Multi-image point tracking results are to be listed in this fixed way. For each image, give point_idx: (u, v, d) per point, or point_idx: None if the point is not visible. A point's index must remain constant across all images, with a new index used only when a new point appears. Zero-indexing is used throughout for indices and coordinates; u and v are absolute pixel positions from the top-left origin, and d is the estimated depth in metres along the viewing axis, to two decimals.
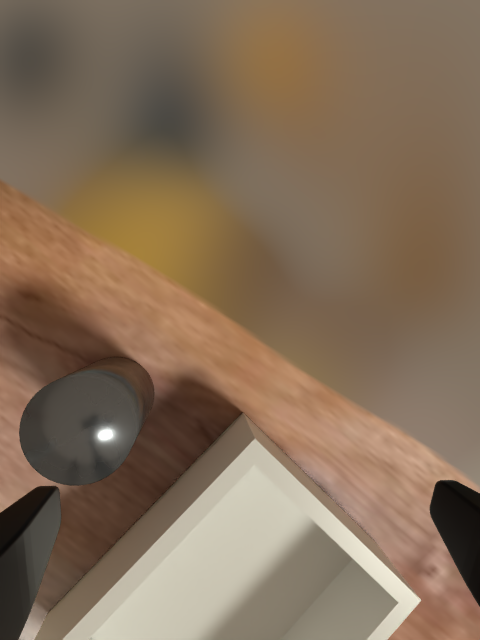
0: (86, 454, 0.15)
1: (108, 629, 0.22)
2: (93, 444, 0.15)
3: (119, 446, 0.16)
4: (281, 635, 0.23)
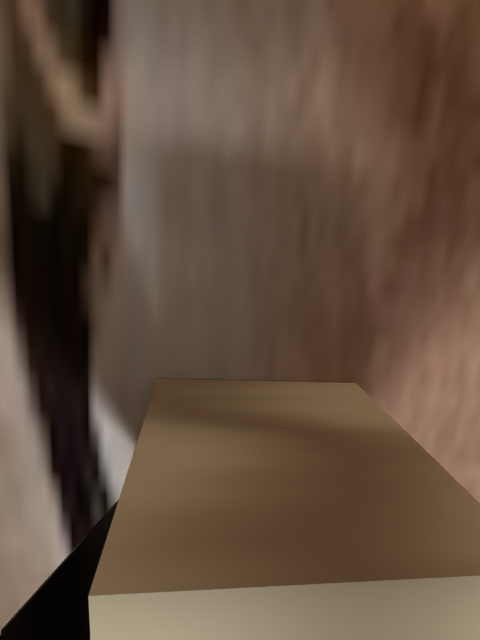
0: None
1: None
2: None
3: None
4: None
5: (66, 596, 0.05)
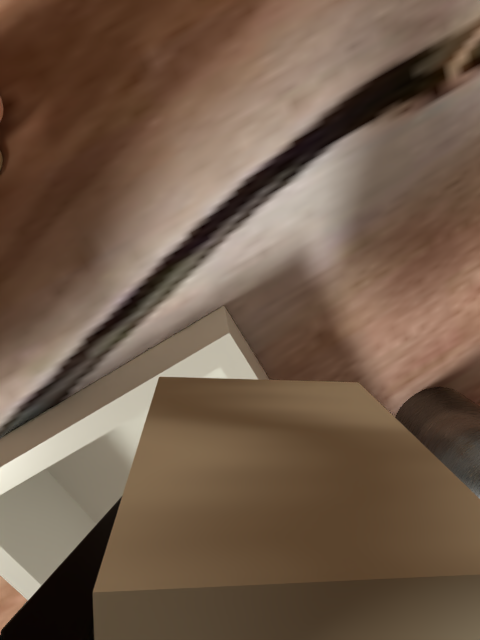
0: None
1: None
2: None
3: None
4: None
5: (66, 596, 0.05)
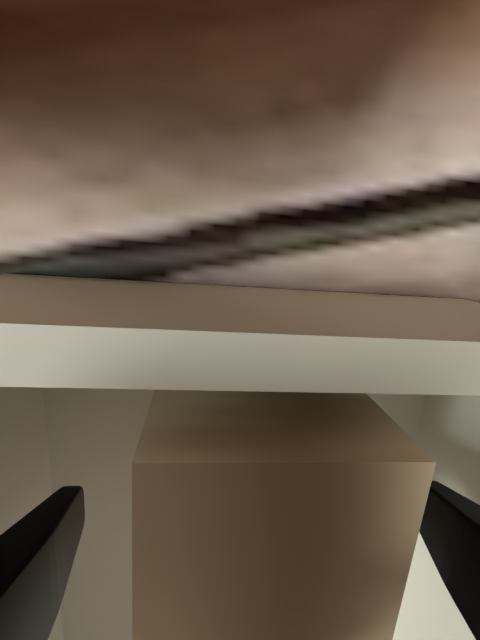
0: None
1: None
2: None
3: None
4: None
5: None
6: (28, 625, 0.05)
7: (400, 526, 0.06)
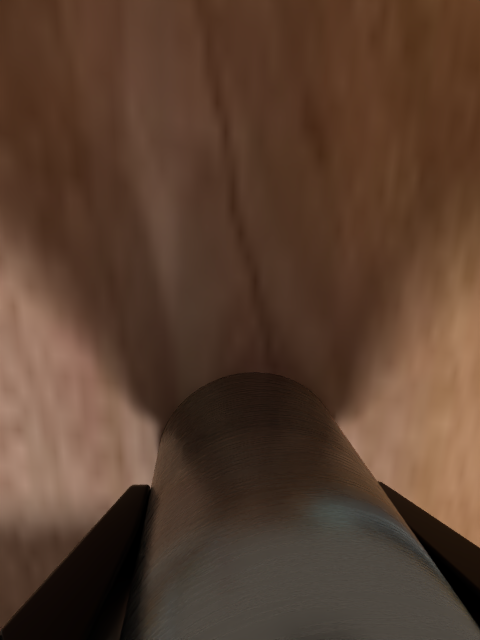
0: None
1: None
2: None
3: None
4: None
5: (65, 596, 0.05)
6: (122, 619, 0.05)
7: None
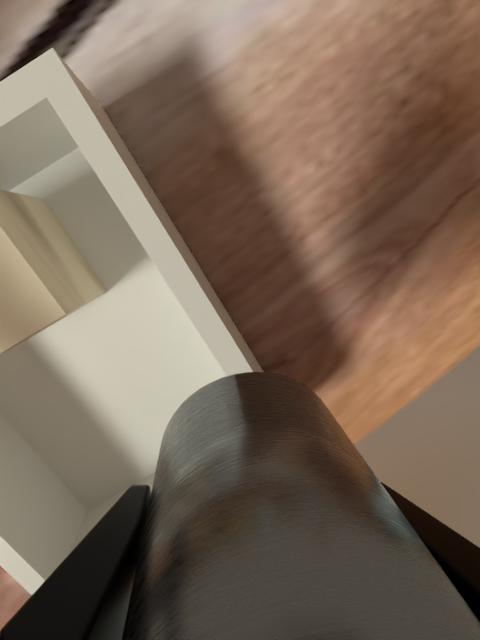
0: None
1: (61, 188, 0.15)
2: None
3: None
4: None
5: (65, 596, 0.05)
6: (122, 619, 0.05)
7: None
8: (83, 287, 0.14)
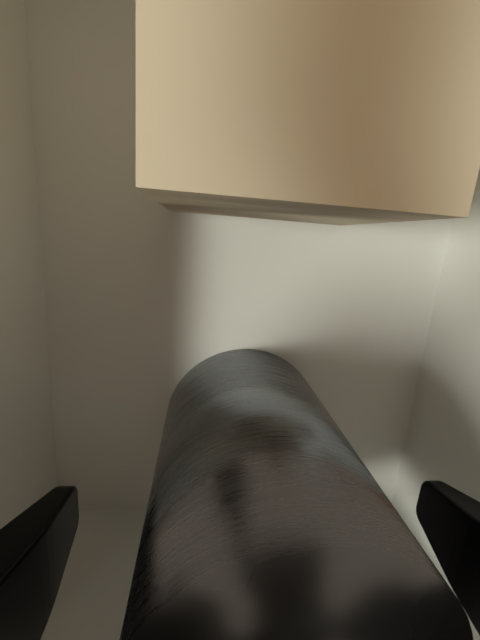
0: None
1: None
2: None
3: None
4: (49, 275, 0.10)
5: None
6: (19, 625, 0.05)
7: None
8: None
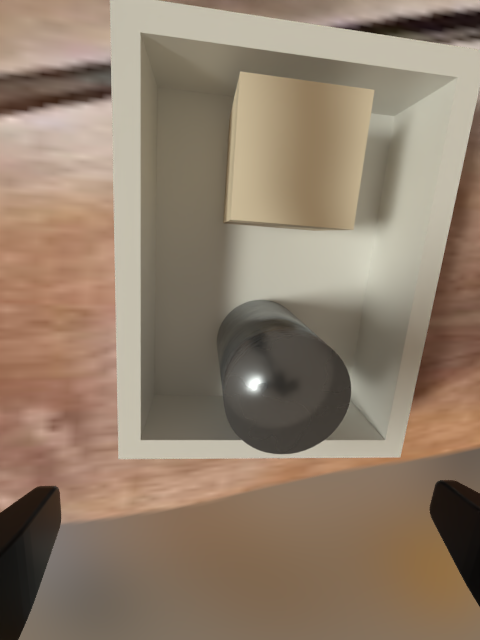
0: (272, 421, 0.13)
1: None
2: (286, 419, 0.13)
3: (301, 439, 0.13)
4: (158, 257, 0.18)
5: None
6: None
7: (359, 128, 0.13)
8: None
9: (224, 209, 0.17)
